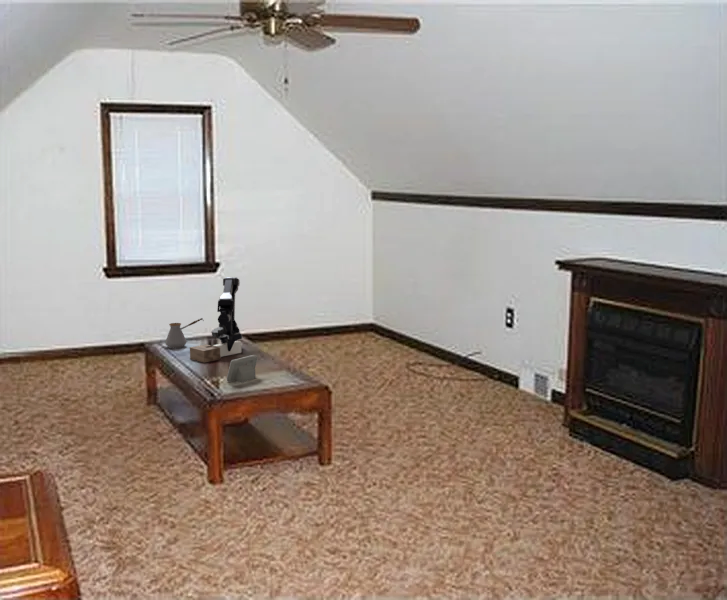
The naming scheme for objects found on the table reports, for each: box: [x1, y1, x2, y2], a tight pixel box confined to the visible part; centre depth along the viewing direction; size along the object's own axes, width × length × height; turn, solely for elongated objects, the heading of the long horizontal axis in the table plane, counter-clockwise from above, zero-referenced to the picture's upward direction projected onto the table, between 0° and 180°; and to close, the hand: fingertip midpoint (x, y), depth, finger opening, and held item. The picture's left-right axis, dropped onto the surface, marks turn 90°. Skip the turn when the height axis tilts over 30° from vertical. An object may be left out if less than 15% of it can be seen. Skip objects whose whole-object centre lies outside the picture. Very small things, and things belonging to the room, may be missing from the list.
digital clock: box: [226, 354, 258, 383], centre depth 364 cm, size 16×9×11 cm, turn 131°
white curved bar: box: [212, 340, 242, 358], centre depth 414 cm, size 20×3×6 cm, turn 137°
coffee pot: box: [164, 317, 204, 349], centre depth 436 cm, size 21×12×15 cm, turn 113°
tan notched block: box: [189, 344, 221, 363], centre depth 405 cm, size 10×12×6 cm
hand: (227, 350), depth 416 cm, fingers closed on white curved bar, 3 cm apart
